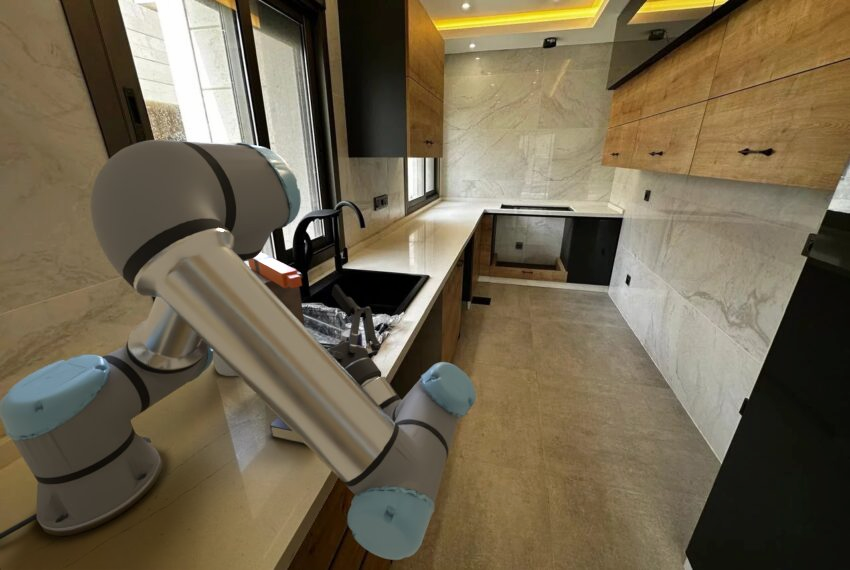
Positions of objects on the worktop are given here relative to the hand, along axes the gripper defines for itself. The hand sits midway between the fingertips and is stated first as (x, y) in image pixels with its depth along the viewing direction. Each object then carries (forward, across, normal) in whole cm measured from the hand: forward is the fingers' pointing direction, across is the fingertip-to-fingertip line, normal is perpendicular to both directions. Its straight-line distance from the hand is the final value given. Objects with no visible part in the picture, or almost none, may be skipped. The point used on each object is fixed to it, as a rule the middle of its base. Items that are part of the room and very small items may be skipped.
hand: (302, 298), depth 62 cm
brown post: (-1, 0, -32) cm, 32 cm away
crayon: (+11, 0, -4) cm, 12 cm away
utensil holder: (+15, -4, -42) cm, 45 cm away
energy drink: (-7, +15, -29) cm, 33 cm away
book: (-13, -1, -25) cm, 29 cm away
